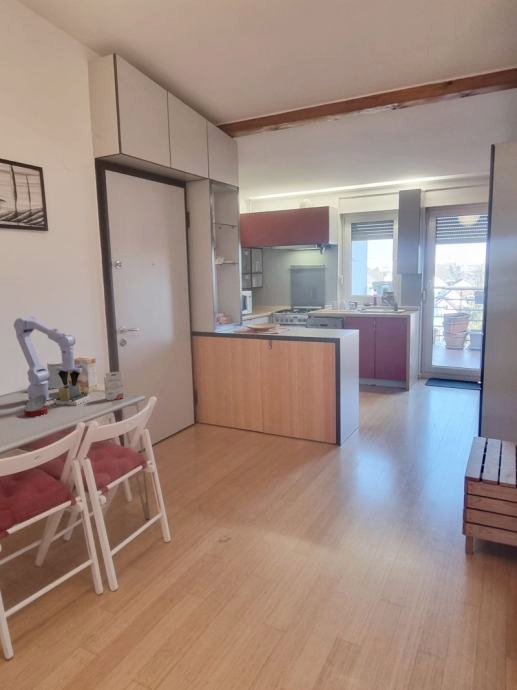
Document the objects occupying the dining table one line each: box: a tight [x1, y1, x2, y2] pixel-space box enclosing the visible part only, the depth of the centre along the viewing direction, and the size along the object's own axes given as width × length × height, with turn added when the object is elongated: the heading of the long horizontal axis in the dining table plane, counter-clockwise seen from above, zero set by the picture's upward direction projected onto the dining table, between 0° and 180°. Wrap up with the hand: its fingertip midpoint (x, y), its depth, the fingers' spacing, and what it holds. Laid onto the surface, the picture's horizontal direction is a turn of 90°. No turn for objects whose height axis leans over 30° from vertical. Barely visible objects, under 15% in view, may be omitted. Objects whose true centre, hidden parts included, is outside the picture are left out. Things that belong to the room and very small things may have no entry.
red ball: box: [24, 395, 49, 418], centre depth 213 cm, size 11×10×10 cm
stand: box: [52, 393, 92, 406], centre depth 234 cm, size 14×11×3 cm
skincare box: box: [46, 361, 64, 390], centre depth 265 cm, size 8×6×15 cm
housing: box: [58, 384, 82, 401], centre depth 232 cm, size 10×5×6 cm, turn 163°
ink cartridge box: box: [103, 371, 124, 401], centre depth 238 cm, size 9×5×15 cm, turn 118°
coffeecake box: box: [68, 355, 98, 394], centre depth 255 cm, size 15×7×20 cm, turn 68°
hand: (70, 385), depth 232 cm, fingers open, 5 cm apart
